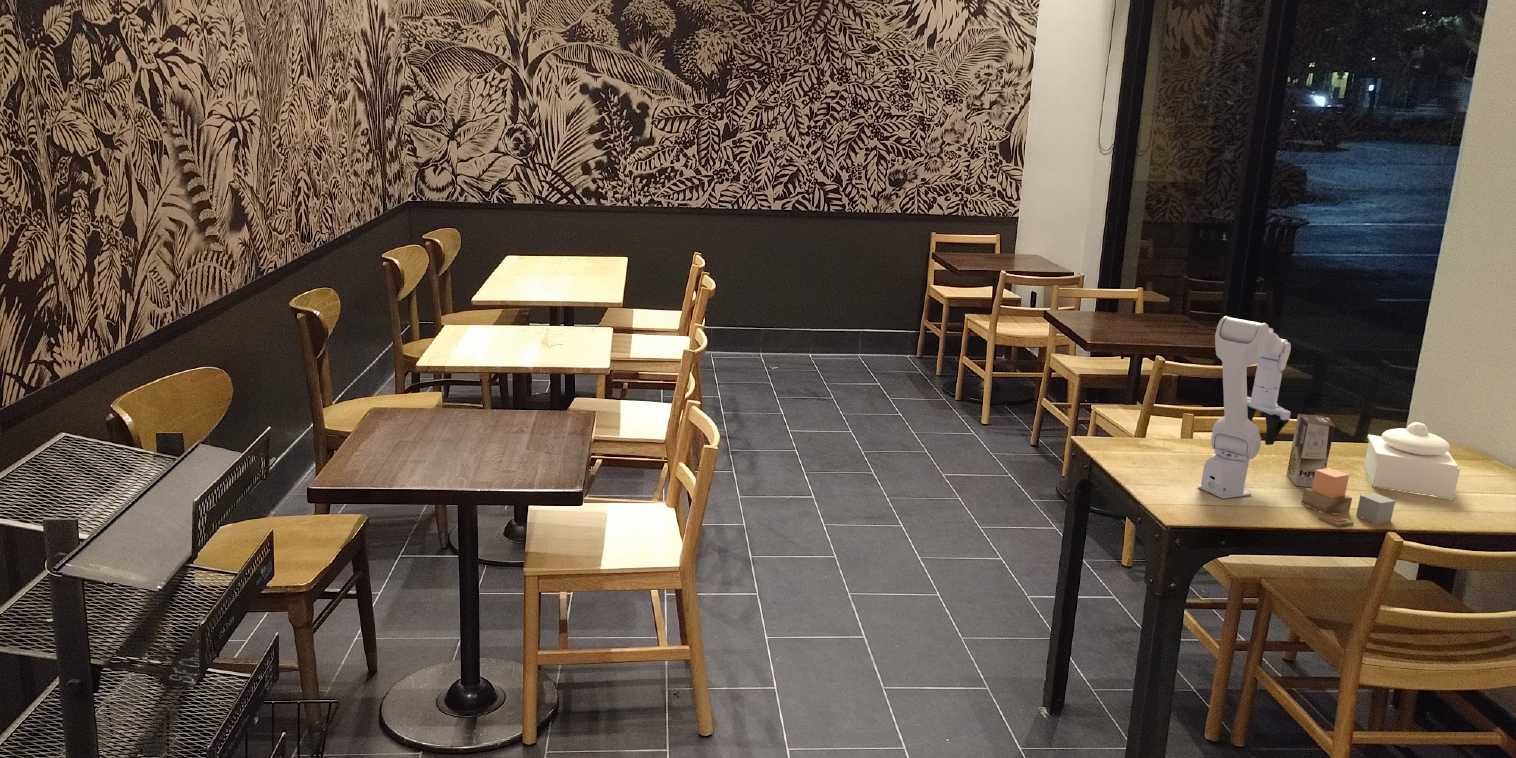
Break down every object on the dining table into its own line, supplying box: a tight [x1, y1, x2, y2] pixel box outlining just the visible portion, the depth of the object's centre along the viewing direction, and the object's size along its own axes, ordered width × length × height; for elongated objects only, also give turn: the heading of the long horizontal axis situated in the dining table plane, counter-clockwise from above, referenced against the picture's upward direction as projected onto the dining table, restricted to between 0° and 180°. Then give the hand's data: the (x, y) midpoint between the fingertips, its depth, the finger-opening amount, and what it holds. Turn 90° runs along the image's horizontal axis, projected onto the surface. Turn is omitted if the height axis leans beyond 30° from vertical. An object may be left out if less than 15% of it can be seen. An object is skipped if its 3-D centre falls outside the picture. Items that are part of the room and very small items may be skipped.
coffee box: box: [1286, 413, 1336, 488], centre depth 274 cm, size 9×6×16 cm
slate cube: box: [1355, 492, 1396, 524], centre depth 253 cm, size 5×5×5 cm
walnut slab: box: [1301, 487, 1353, 515], centre depth 258 cm, size 7×7×4 cm
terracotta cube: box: [1311, 467, 1350, 498], centre depth 257 cm, size 5×5×5 cm
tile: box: [1318, 514, 1355, 528], centre depth 250 cm, size 5×5×1 cm
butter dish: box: [1363, 421, 1461, 500], centre depth 278 cm, size 18×18×16 cm
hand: (1256, 439), depth 273 cm, fingers open, 7 cm apart
